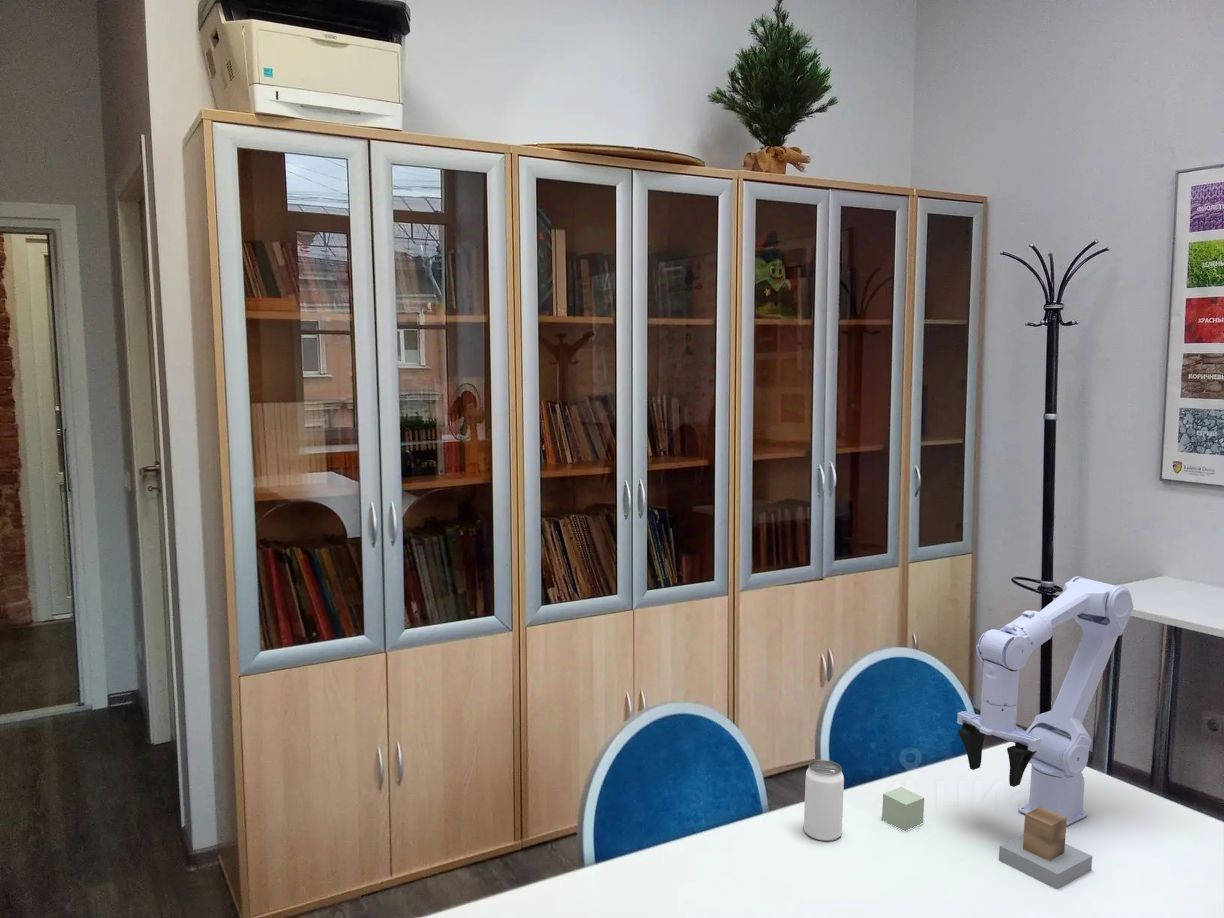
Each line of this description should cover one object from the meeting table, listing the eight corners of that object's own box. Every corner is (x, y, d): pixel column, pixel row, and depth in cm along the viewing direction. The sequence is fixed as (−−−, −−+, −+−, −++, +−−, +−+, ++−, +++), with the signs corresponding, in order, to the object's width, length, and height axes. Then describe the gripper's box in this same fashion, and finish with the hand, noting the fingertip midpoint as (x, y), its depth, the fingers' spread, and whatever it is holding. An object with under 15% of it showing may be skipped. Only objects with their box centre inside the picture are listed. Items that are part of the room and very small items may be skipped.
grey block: (1033, 845, 156) (1034, 829, 155) (1091, 873, 147) (1092, 855, 147) (998, 862, 150) (999, 845, 150) (1056, 892, 142) (1057, 874, 141)
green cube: (900, 813, 166) (901, 786, 165) (923, 824, 162) (924, 797, 161) (881, 820, 163) (883, 793, 163) (904, 832, 159) (906, 804, 158)
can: (842, 844, 154) (845, 776, 153) (803, 839, 156) (806, 772, 154) (840, 825, 161) (843, 760, 160) (803, 821, 162) (805, 757, 161)
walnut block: (1037, 840, 151) (1040, 806, 151) (1064, 852, 148) (1066, 817, 147) (1022, 848, 149) (1025, 814, 148) (1049, 861, 145) (1051, 825, 144)
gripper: (948, 692, 160) (944, 766, 161) (1025, 718, 148) (1020, 798, 149) (972, 684, 164) (968, 757, 165) (1049, 710, 152) (1044, 788, 153)
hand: (994, 776), depth 158 cm, fingers open, 7 cm apart
